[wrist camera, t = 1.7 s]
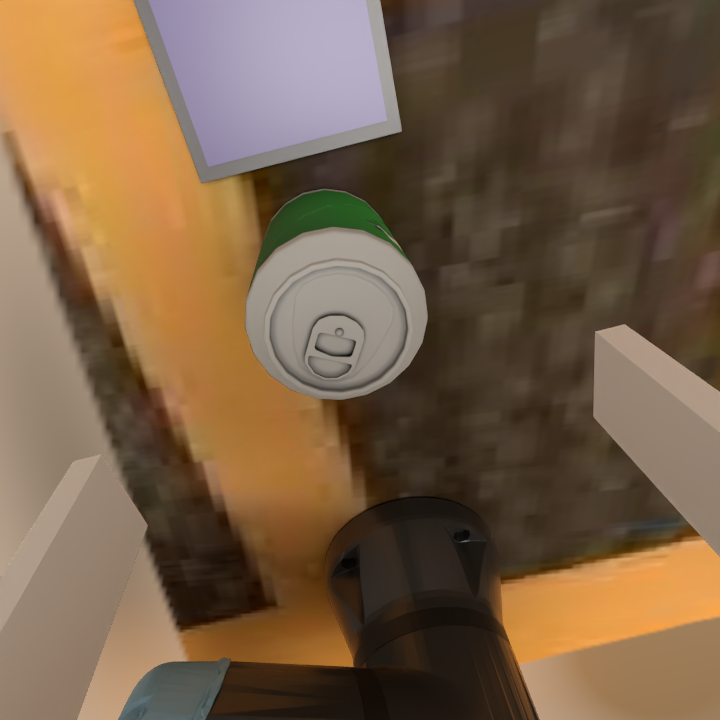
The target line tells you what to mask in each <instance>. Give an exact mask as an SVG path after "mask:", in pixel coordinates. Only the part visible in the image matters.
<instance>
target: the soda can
mask: <svg viewBox="0 0 720 720" xmlns="http://www.w3.org/2000/svg"><path fill="white" fill-rule="evenodd" d="M427 319H428V315H427V306H426V298H425V290H424V288H423V286H422V284H421V282H420V280H419V278H418V276H417V274H416V272H415V270H414V268H413V266H412V265H411V263H410V262H409V260H408V259H407V257H406V255H405V254H404V252H403V251H402V249H401V248H400V246H399V245H398V243H397V242H396V240H395V239H394V237H393V236H392V234H391V233H390V231H389V230H388V228H387V227H386V225H385V224H384V222H383V220H382V219H381V217H380V216H379V215H378V214H377V213H376V212H375V211H374V210H373V209H372V208H371V207H370V206H369V205H368V204H367V203H366V202H365V201H364V200H362V199H360V198H358V197H356V196H354V195H352V194H350V193H348V192H346V191H340V190H332V189H319V190H314V191H309V192H305V193H302V194H300V195H299V196H297V197H295V198H293V199H292V200H290V201H288V202H287V203H285V204H284V205H283V206H282V208H281V209H280V210H279V211H278V212H277V213H276V215H275V216H274V217H273V218H272V219H271V222H270V224H269V227H268V229H267V232H266V234H265V237H264V240H263V243H262V247H261V250H260V254H259V257H258V261H257V264H256V268H255V271H254V274H253V278H252V281H251V285H250V288H249V292H248V295H247V299H246V318H245V329H246V332H247V335H248V338H249V341H250V344H251V347H252V350H253V353H254V355H255V356H256V358H257V359H258V360H259V362H260V363H261V364H262V366H263V367H264V368H265V369H266V371H267V372H268V373H269V375H271V376H272V377H273V378H275V379H276V380H278V381H279V382H280V383H282V384H283V385H285V386H286V387H287V388H289V389H290V390H293V391H296V392H299V393H302V394H304V395H307V396H310V397H313V398H319V399H336V400H343V399H348V398H353V397H358V396H362V395H367V394H369V393H371V392H373V391H375V390H377V389H379V388H381V387H383V386H385V385H387V384H389V383H391V382H392V381H393V380H394V379H395V378H396V377H397V376H398V375H399V374H400V373H401V372H402V371H404V370H405V369H406V368H407V367H408V366H409V365H410V363H411V361H412V360H413V358H414V356H415V355H416V353H417V351H418V349H419V348H420V346H421V344H422V342H423V337H424V333H425V328H426V324H427Z"/></svg>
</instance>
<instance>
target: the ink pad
mask: <svg viewBox="0 0 720 720" xmlns="http://www.w3.org/2000/svg"><path fill="white" fill-rule="evenodd" d="M134 3H135V6H136V8H137V11H138V14H139V16H140V19H141V22H142V24H143V27H144V30H145V32H146V35H147V38H148V41H149V43H150V46H151V49H152V51H153V54H154V57H155V59H156V62H157V65H158V67H159V70H160V73H161V75H162V78H163V81H164V84H165V86H166V89H167V92H168V94H169V97H170V100H171V102H172V105H173V108H174V110H175V113H176V116H177V119H178V121H179V124H180V127H181V129H182V132H183V135H184V137H185V140H186V143H187V145H188V148H189V151H190V153H191V156H192V159H193V162H194V164H195V167H196V170H197V172H198V175H199V178H200V180H201V183H205V182H209V181H212V180H216V179H220V178H224V177H228V176H232V175H236V174H239V173H243V172H247V171H251V170H255V169H259V168H263V167H266V166H270V165H274V164H278V163H282V162H286V161H290V160H293V159H297V158H301V157H305V156H309V155H313V154H317V153H320V152H324V151H328V150H332V149H336V148H340V147H344V146H347V145H351V144H355V143H359V142H363V141H367V140H371V139H374V138H378V137H382V136H386V135H390V134H394V133H398V132H401V131H402V129H401V123H400V117H399V111H398V105H397V99H396V93H395V87H394V81H393V75H392V69H391V63H390V57H389V51H388V45H387V39H386V33H385V27H384V21H383V15H382V9H381V3H380V0H134Z"/></svg>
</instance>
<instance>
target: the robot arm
mask: <svg viewBox="0 0 720 720" xmlns="http://www.w3.org/2000/svg"><path fill="white" fill-rule="evenodd" d="M593 417H594V418H595V419H596V420H597V421H598V422H599V423H600V425H601V426H602V427H603V428H604V429H605V430H606V431H607V432H608V433H609V435H610V436H611V437H612V438H613V439H614V440H615V441H616V442H617V443H618V445H619V446H620V447H621V448H622V449H623V450H624V451H625V452H626V453H627V455H628V456H629V457H630V458H631V459H632V460H633V461H634V462H635V463H636V465H637V466H638V467H639V468H640V469H641V470H642V471H643V472H644V473H645V474H646V476H647V477H648V478H649V479H650V480H651V481H652V482H653V483H654V484H655V486H656V487H657V488H658V489H659V490H660V491H661V492H662V493H663V494H664V496H665V497H666V498H667V499H668V500H669V501H670V502H671V503H672V504H673V506H674V507H675V508H676V509H677V510H678V511H679V512H680V513H681V514H682V516H683V517H684V518H685V519H686V520H687V521H688V522H689V523H690V524H691V526H692V527H693V528H694V529H695V530H696V531H697V532H698V533H699V534H700V535H701V537H702V538H703V539H704V540H705V541H706V542H707V543H708V544H709V545H710V547H711V548H712V549H713V550H714V551H715V552H716V553H717V554H718V555H719V557H720V392H719V391H718V390H716V389H715V388H713V387H712V386H710V385H709V384H708V383H706V382H705V381H703V380H702V379H701V378H699V377H698V376H696V375H695V374H694V373H692V372H691V371H689V370H688V369H687V368H685V367H684V366H682V365H681V364H680V363H678V362H677V361H675V360H674V359H673V358H671V357H670V356H668V355H667V354H666V353H664V352H663V351H661V350H660V349H659V348H657V347H656V346H654V345H653V344H652V343H650V342H649V341H647V340H646V339H645V338H643V337H642V336H640V335H639V334H637V333H636V332H635V331H633V330H632V329H630V328H629V327H628V326H626V325H625V324H624V325H620V326H616V327H612V328H608V329H604V330H600V331H596V332H595V366H594V413H593ZM147 526H148V525H147V523H146V522H145V520H144V519H143V517H142V516H141V514H140V513H139V511H138V509H137V508H136V506H135V505H134V503H133V502H132V500H131V499H130V497H129V496H128V494H127V492H126V491H125V489H124V488H123V486H122V485H121V483H120V482H119V480H118V479H117V477H116V475H115V474H114V472H113V471H112V469H111V468H110V467H109V465H108V463H107V462H106V460H105V458H104V457H103V455H101V454H100V455H96V456H92V457H88V458H84V459H80V460H76V461H73V463H72V464H71V466H70V467H69V469H68V471H67V472H66V474H65V475H64V477H63V478H62V480H61V482H60V483H59V485H58V486H57V488H56V490H55V491H54V493H53V494H52V496H51V498H50V499H49V501H48V502H47V504H46V505H45V507H44V509H43V510H42V512H41V513H40V515H39V516H38V518H37V519H36V521H35V523H34V524H33V526H32V527H31V529H30V531H29V532H28V534H27V535H26V537H25V538H24V540H23V542H22V543H21V545H20V546H19V548H18V549H17V551H16V553H15V554H14V556H13V557H12V559H11V560H10V562H9V564H8V565H7V567H6V568H5V570H4V572H3V573H2V575H1V576H0V720H77V718H78V715H79V712H80V710H81V707H82V704H83V701H84V699H85V696H86V693H87V691H88V688H89V685H90V682H91V680H92V677H93V674H94V671H95V669H96V666H97V663H98V660H99V658H100V655H101V652H102V649H103V647H104V644H105V641H106V638H107V636H108V633H109V630H110V628H111V625H112V622H113V619H114V617H115V614H116V611H117V608H118V606H119V603H120V600H121V598H122V595H123V592H124V589H125V587H126V584H127V581H128V578H129V575H130V573H131V570H132V567H133V565H134V562H135V559H136V557H137V554H138V551H139V548H140V546H141V543H142V540H143V537H144V535H145V532H146V529H147ZM325 577H326V591H327V595H328V599H329V602H330V604H331V607H332V609H333V612H334V614H335V616H336V619H337V621H338V623H339V626H340V628H341V631H342V633H343V635H344V638H345V640H346V642H347V645H348V647H349V650H350V652H351V654H352V657H353V664H354V667H340V666H318V665H297V664H275V663H254V662H232V661H230V660H231V659H228V658H222V659H220V660H219V661H199V662H168V663H164V664H161V665H159V666H157V667H155V668H153V669H152V670H151V671H149V672H148V673H147V674H146V675H145V676H144V677H143V678H142V679H141V680H140V681H139V682H138V684H137V685H136V687H135V688H134V690H133V691H132V693H131V695H130V697H129V698H128V700H127V702H126V704H125V706H124V708H123V711H122V713H121V715H120V717H119V719H118V720H540V719H539V717H538V714H537V712H536V709H535V706H534V704H533V701H532V699H531V696H530V694H529V691H528V688H527V686H526V683H525V681H524V678H523V675H522V673H521V670H520V668H519V665H518V662H517V660H516V657H515V655H514V652H513V650H512V647H511V645H510V642H509V639H508V637H507V634H506V631H505V629H504V626H503V619H502V600H501V581H500V563H499V557H498V553H497V549H496V547H495V544H494V542H493V540H492V537H491V535H490V533H489V530H488V528H487V527H486V525H485V523H484V522H483V521H482V520H481V518H480V517H479V516H477V515H476V514H475V513H474V512H473V511H471V510H469V509H468V508H466V507H464V506H462V505H460V504H457V503H454V502H451V501H447V500H443V499H437V498H408V499H402V500H397V501H392V502H389V503H385V504H382V505H380V506H377V507H375V508H372V509H370V510H368V511H366V512H364V513H362V514H361V515H359V516H358V517H356V518H355V519H353V520H352V521H351V522H349V523H348V524H347V525H346V526H345V527H344V528H343V529H342V530H341V531H340V532H339V533H338V534H337V535H336V537H335V538H334V540H333V541H332V543H331V545H330V547H329V549H328V552H327V555H326V560H325Z"/></svg>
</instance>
